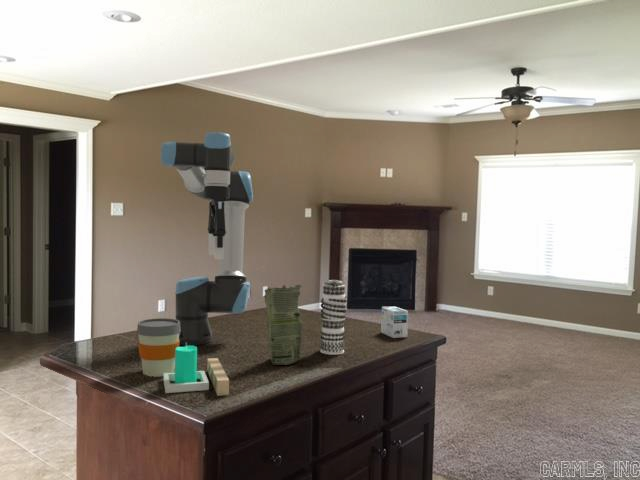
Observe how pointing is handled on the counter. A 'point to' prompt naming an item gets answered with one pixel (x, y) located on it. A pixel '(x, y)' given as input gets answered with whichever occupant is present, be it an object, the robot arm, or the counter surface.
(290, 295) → the pouch
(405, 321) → the light bulb box
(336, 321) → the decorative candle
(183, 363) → the candle
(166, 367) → the reusable coffee cup
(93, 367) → the counter surface
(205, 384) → the frame
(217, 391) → the edge strip
